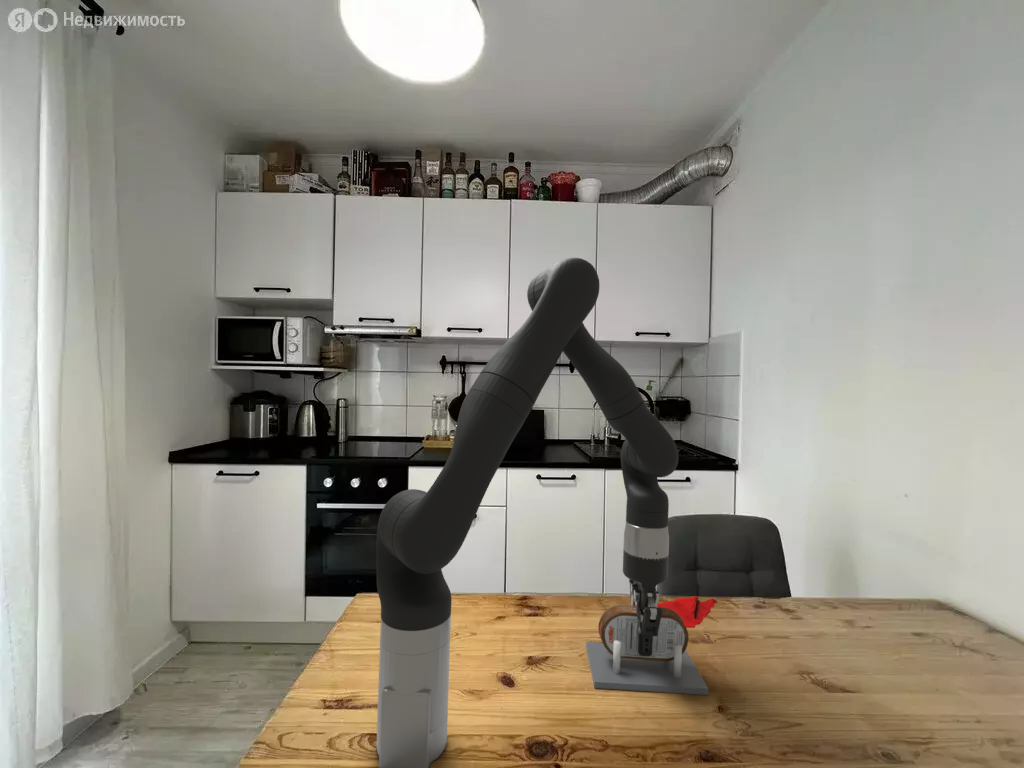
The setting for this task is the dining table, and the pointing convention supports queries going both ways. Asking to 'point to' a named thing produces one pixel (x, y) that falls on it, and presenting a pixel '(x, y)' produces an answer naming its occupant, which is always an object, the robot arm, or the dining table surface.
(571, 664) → the dining table surface
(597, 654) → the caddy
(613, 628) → the tin
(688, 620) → the cloth
